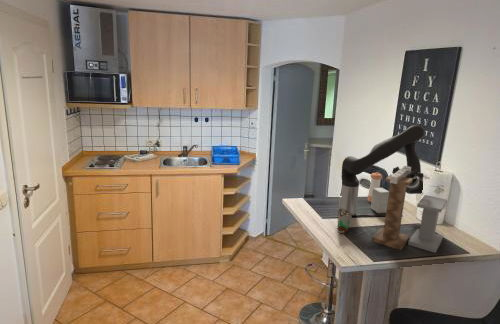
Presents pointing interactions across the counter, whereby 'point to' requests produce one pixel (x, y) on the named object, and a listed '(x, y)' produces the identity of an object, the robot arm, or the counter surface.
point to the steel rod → (400, 174)
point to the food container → (343, 220)
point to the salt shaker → (374, 184)
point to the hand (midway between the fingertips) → (405, 170)
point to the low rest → (428, 224)
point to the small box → (379, 200)
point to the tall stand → (394, 216)
